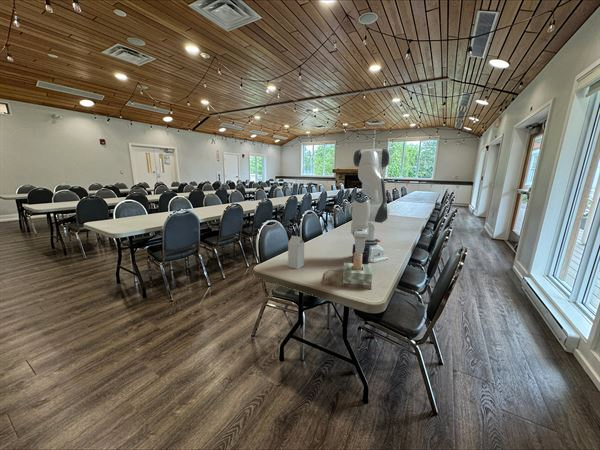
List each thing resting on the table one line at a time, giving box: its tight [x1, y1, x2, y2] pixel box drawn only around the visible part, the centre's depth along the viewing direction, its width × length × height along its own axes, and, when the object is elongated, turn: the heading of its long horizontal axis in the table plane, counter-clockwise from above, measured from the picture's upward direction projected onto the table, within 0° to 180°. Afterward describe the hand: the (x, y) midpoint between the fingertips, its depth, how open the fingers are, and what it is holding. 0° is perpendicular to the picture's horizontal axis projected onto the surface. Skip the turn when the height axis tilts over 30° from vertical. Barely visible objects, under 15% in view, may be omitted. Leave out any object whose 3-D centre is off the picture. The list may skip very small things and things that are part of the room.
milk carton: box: [287, 235, 305, 270], centre depth 151 cm, size 7×7×19 cm
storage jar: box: [351, 243, 370, 265], centre depth 148 cm, size 10×10×15 cm
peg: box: [352, 252, 362, 270], centre depth 131 cm, size 4×4×14 cm
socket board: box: [322, 262, 373, 290], centre depth 132 cm, size 24×16×8 cm, turn 79°
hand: (358, 255), depth 130 cm, fingers open, 8 cm apart
